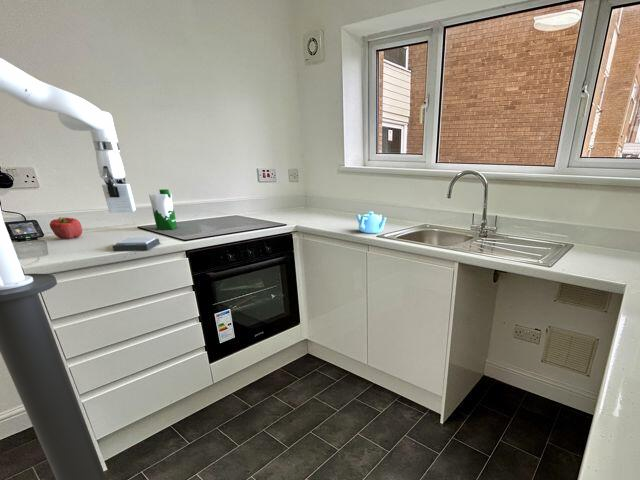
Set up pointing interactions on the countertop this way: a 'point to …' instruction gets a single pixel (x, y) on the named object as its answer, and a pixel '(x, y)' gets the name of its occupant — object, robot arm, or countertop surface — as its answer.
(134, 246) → the scale
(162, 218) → the milk carton
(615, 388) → the countertop surface
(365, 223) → the teapot
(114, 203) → the small box
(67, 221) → the vegetable
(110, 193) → the robot arm
